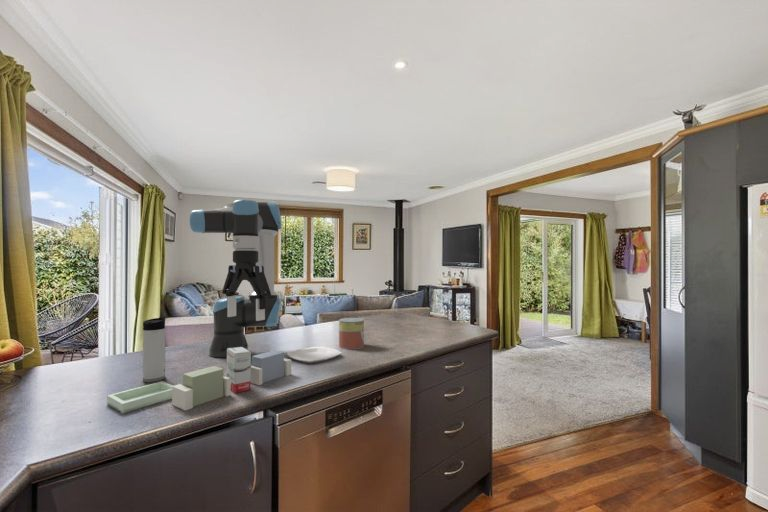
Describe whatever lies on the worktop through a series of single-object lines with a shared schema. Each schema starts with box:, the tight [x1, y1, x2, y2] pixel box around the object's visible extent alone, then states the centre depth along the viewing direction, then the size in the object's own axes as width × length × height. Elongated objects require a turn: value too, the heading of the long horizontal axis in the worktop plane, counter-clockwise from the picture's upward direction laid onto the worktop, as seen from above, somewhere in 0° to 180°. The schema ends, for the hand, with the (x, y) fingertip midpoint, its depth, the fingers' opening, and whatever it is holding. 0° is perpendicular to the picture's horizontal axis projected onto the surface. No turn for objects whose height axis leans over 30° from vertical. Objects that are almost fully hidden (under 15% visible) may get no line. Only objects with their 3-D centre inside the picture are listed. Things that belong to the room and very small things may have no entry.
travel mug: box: [142, 316, 166, 383], centre depth 121 cm, size 6×7×20 cm
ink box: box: [226, 347, 252, 394], centre depth 113 cm, size 8×5×12 cm, turn 39°
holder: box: [171, 357, 292, 412], centre depth 113 cm, size 7×36×5 cm, turn 145°
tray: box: [107, 380, 174, 414], centre depth 103 cm, size 10×14×2 cm
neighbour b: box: [251, 349, 285, 384], centre depth 122 cm, size 5×9×8 cm, turn 145°
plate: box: [286, 345, 343, 364], centre depth 147 cm, size 19×19×2 cm
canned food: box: [338, 317, 365, 350], centre depth 165 cm, size 11×11×12 cm
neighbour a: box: [182, 365, 224, 407], centre depth 104 cm, size 5×9×8 cm, turn 145°
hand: (245, 318), depth 114 cm, fingers open, 13 cm apart
